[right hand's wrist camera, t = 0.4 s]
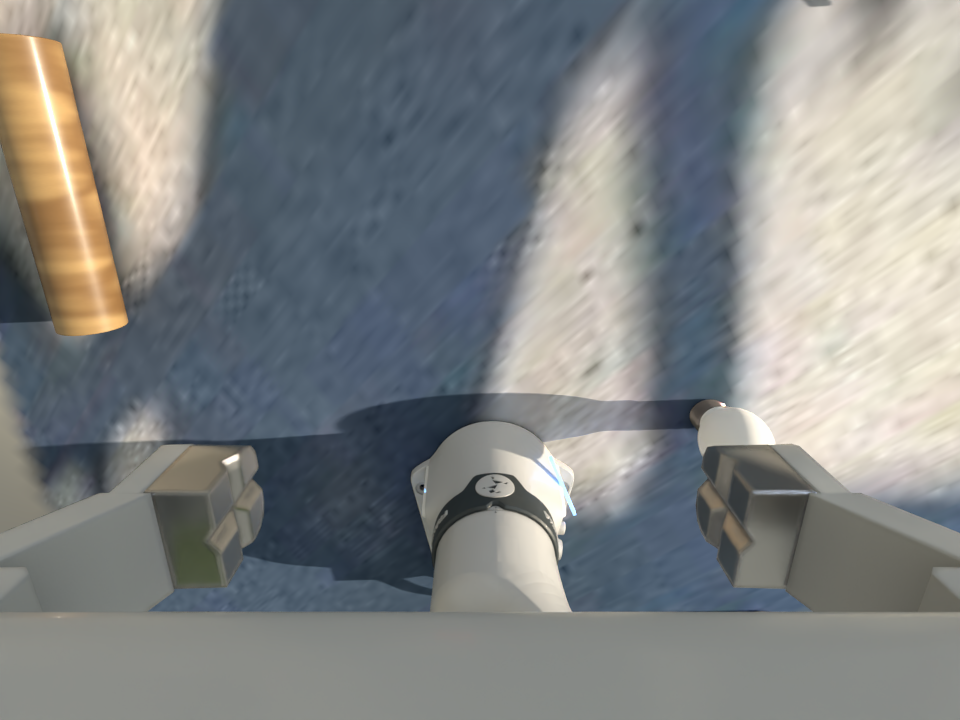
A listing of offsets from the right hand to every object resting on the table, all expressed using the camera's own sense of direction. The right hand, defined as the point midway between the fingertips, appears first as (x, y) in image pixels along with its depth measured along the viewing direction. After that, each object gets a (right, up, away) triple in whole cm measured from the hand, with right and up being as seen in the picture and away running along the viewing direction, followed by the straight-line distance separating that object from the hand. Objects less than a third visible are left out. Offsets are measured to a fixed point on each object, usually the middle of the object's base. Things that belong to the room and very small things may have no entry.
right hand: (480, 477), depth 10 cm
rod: (-38, +18, +43) cm, 60 cm away
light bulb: (+26, -4, +51) cm, 57 cm away
